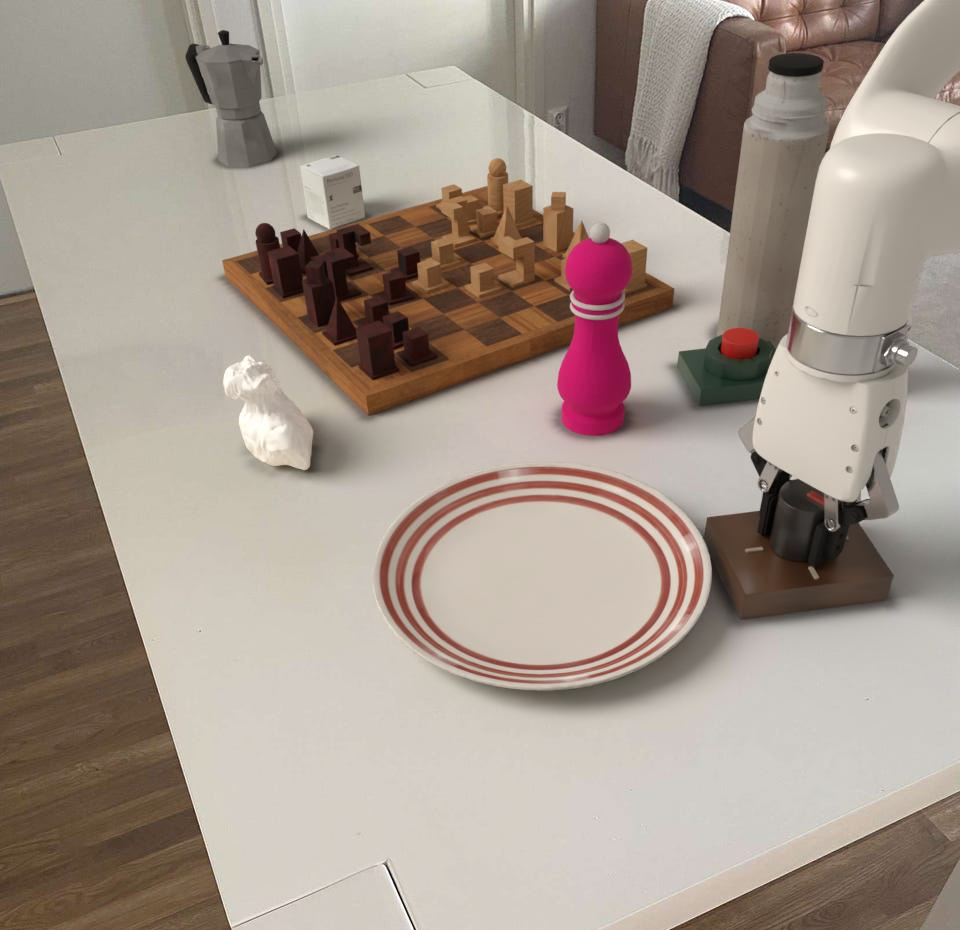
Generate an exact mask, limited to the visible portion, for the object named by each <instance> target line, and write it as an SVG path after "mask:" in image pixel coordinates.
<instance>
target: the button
mask: <svg viewBox="0 0 960 930" xmlns="http://www.w3.org/2000/svg"><path fill="white" fill-rule="evenodd" d="M758 341H759V336H758V334H757V333H756V332H755V331H753V330H750V329H747V328H732V329H729V330H727V331H725V332H724V333H723V337H722V344H721V353H722V354H723V355H725V356H727V357H729V358H734V359H740V360H741V359H750V358H752V357H754V356H755V355H756V353H757V347H758Z"/></svg>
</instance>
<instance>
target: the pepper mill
mask: <svg viewBox="0 0 960 930" xmlns="http://www.w3.org/2000/svg"><path fill="white" fill-rule="evenodd" d="M610 236H611V229H610V227H609V225H607V224H606V222H603V221H599V222H596V223H594V224H593V225H592V226H591V227H590V230H589V238H588V239H585V240H583V241H581V242H580V243H578V244H577V245H576V246H575V247H574V248H573V249H572V250H571V252H570V253H569V255H568V258H567V261H566V267H565V276H566V280H567V282H568V284H569V286H570V287H571V288H572V290H573V291H572V292H571V294H570V300H571V303H570V309H571V311H572V312H573V313H574V314H575V329H574V335H573V339H572V342H571V344H569V346H568V349H567V351H566V352H565V355H564V357H563V359H562V360H561V363H560V366H559V370H558V374H557V381H556V388H557V392H558V394H559V396H560V398H561V399H562V400H563V403H561V422H562V424H563V427H565V428H566V429H567V430H569V431H570V432H572V433H575V434H577V435H580V436H586V437H587V436H588V437H596V436H597V437H598V436H605V435H609V434H613V433H614V432H616V431H618V430H619V429H620V428H621V427H622V426H623V424H624V422H625V409H626V408H625V403H624V401H625V400H626V399H627V398H628V396H629V395H630V393H631V389H632V374H631V373H632V372H631V369H630V365H629V362H628V360H627V358H626V356H625V354H624V352H623V349H622V346H621V342H620V339H619V326H618V319H619V314H620V313H621V312H622V311H623V310H624V306H625V305H624V299H625V294H624V292H623V290H624V289H625V288H626V286H627V285H628V283H629V282H630V279H631V276H632V261H631V257H630V254H629V253H628V251H627V249H626V248H625V247H624V246H623V245H622V244H621V243H622V242H620V241H619V240H617V239H614V238H611V237H610Z"/></svg>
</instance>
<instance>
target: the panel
mask: <svg viewBox="0 0 960 930" xmlns="http://www.w3.org/2000/svg"><path fill="white" fill-rule="evenodd" d="M842 507H843V501H842ZM759 512H760V510H754V511H748V512H747V511H746V512H738V513H737V512H736V513H731V514H729V513H728V514H722V515H713V516H706V519H705V527H704V534H703V539H704V541H705V543H706V546H707V548H708V552H709V555H710V560H711V562H712V563H713V565H714V567H715V569H716V572H717V573H718V575H719V578H720V580H721V582H722V584H723V586H724V588H725V590H726V592H727V594H728V597H729V599H730V600H731V603H732V604H733V606H734V609H735V611H736V613H737V615H738V618H739V620H741V621H743V620H749V619H750V620H751V619H758V618H759V619H760V618H765V617H773V616H781V615H788V614H789V615H790V614H797V613H802V612H803V613H804V612H810V611H818V610H826V609H833V608H841V607H848V606H849V607H850V606H856V605H857V606H858V605H865V604H871V603H880V602H886V601H887V600H888V597H889V592H890V589H891V586H892V583H893V581H894V577H895V574H894V573H893V572H892V570H891V569H890V567H889V565H888V564H887V562H886V561H885V560H884V558H883V557H882V555H881V554H880V552H879V551H878V549H877V547H875V545H874V543H873V542H872V541H871V539H870V537H869V536H868V535H867V533H866V532H865V530H864V529H863V527H862V525H861V524H860V522H859V523H855V524H852V525H850V526H849V529H848V533H847V537H846V541H845V544H844V548H843V550H842V552H841V553H840V554H839V556H837V557H836V558H834V559H829V560H827V561H826V562H824V563H823V564H821V565H819V566H818V567H816V568H814V567H812V566H811V565H809V562H808V561H805V562H798V561H792V560H788V559H785V558H783V557H781V556H779V555H778V554H776V553H775V552H774V551H773V550H772V548H771V546H770V543H769V540H770V535H771V533H770V534H768V535H766V536H765V535H764V536H762V535H761V534H759V533H758V532H757V530H758V525H759V519H760V516H759Z"/></svg>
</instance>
